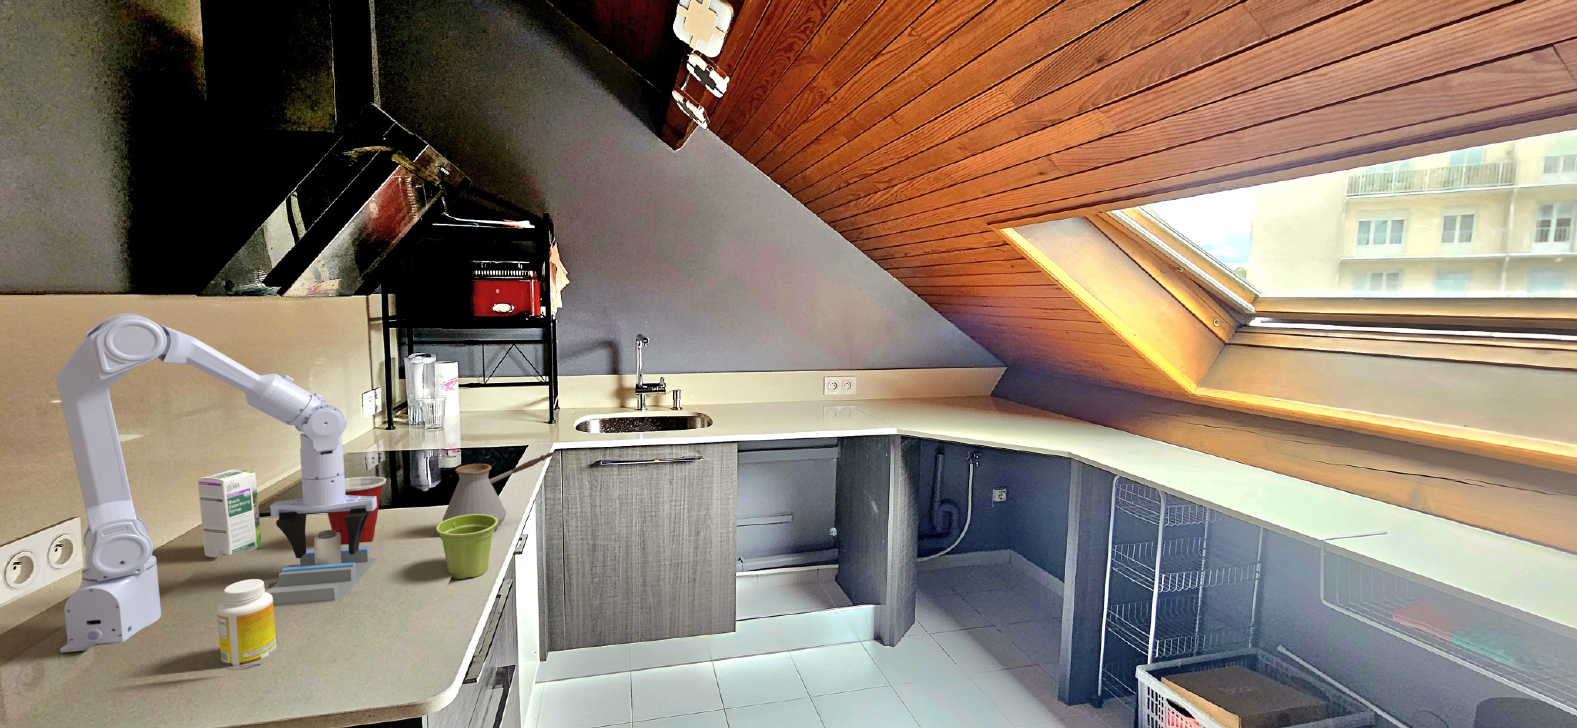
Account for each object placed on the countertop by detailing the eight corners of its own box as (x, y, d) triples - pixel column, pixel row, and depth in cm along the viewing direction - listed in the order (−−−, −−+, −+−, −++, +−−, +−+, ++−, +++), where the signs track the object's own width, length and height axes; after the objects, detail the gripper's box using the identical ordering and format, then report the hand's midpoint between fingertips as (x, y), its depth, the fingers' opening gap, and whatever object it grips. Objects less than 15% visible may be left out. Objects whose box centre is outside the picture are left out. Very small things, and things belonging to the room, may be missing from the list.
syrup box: (230, 560, 113) (224, 479, 112) (203, 556, 115) (196, 476, 113) (262, 547, 119) (257, 470, 117) (236, 544, 120) (230, 468, 118)
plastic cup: (396, 529, 129) (393, 470, 128) (380, 550, 119) (377, 487, 118) (332, 533, 126) (329, 474, 125) (310, 556, 116) (306, 491, 114)
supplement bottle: (286, 647, 88) (282, 575, 87) (257, 671, 82) (252, 595, 81) (242, 648, 87) (236, 576, 86) (209, 673, 82) (203, 596, 80)
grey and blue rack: (341, 607, 99) (340, 586, 98) (248, 615, 96) (246, 594, 95) (377, 563, 114) (376, 545, 114) (298, 568, 111) (297, 550, 110)
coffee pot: (440, 544, 123) (437, 467, 121) (445, 523, 133) (443, 452, 131) (559, 530, 131) (558, 458, 129) (555, 512, 142) (554, 445, 140)
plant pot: (510, 564, 115) (509, 517, 114) (471, 588, 106) (469, 537, 105) (466, 557, 118) (465, 511, 117) (424, 579, 109) (422, 529, 108)
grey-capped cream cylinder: (336, 574, 107) (335, 535, 106) (311, 575, 106) (309, 537, 106) (345, 565, 111) (343, 527, 110) (320, 566, 110) (319, 528, 109)
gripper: (381, 465, 112) (384, 541, 114) (283, 469, 108) (288, 547, 110) (366, 477, 106) (370, 557, 107) (261, 482, 102) (267, 565, 103)
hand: (327, 553), depth 108 cm, fingers open, 7 cm apart
